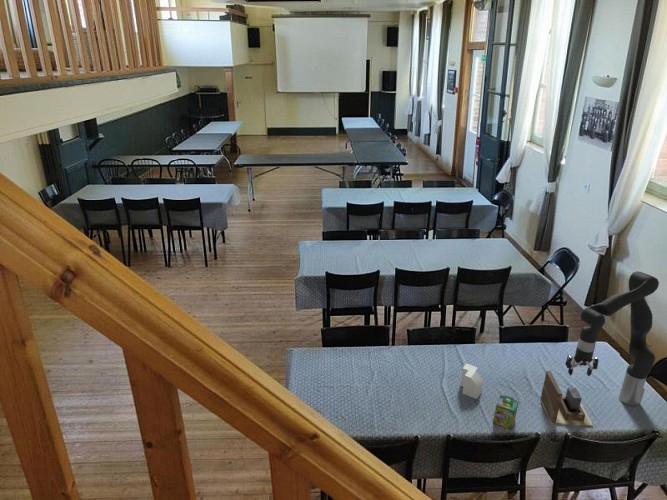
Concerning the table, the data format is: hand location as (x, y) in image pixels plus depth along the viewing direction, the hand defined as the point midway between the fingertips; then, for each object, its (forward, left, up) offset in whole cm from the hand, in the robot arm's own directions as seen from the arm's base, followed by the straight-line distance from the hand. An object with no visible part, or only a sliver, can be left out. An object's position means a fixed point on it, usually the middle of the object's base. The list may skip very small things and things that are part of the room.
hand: (579, 374), depth 241 cm
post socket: (+3, 0, -24) cm, 24 cm away
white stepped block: (+48, -14, -24) cm, 56 cm away
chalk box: (+35, +9, -24) cm, 44 cm away
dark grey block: (0, 0, -23) cm, 23 cm away
